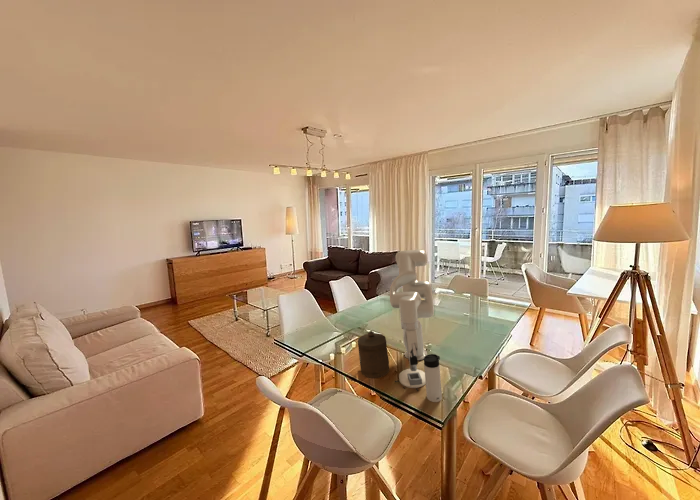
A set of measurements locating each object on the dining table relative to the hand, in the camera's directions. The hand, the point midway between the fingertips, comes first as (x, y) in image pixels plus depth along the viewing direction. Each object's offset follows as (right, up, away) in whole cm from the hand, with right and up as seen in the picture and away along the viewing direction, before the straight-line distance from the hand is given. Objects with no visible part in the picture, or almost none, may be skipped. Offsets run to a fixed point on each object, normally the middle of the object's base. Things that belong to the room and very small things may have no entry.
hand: (413, 362), depth 129 cm
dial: (+1, -11, +6) cm, 12 cm away
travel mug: (+8, -13, -8) cm, 17 cm away
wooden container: (-16, -13, +18) cm, 27 cm away
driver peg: (0, -3, 0) cm, 3 cm away
